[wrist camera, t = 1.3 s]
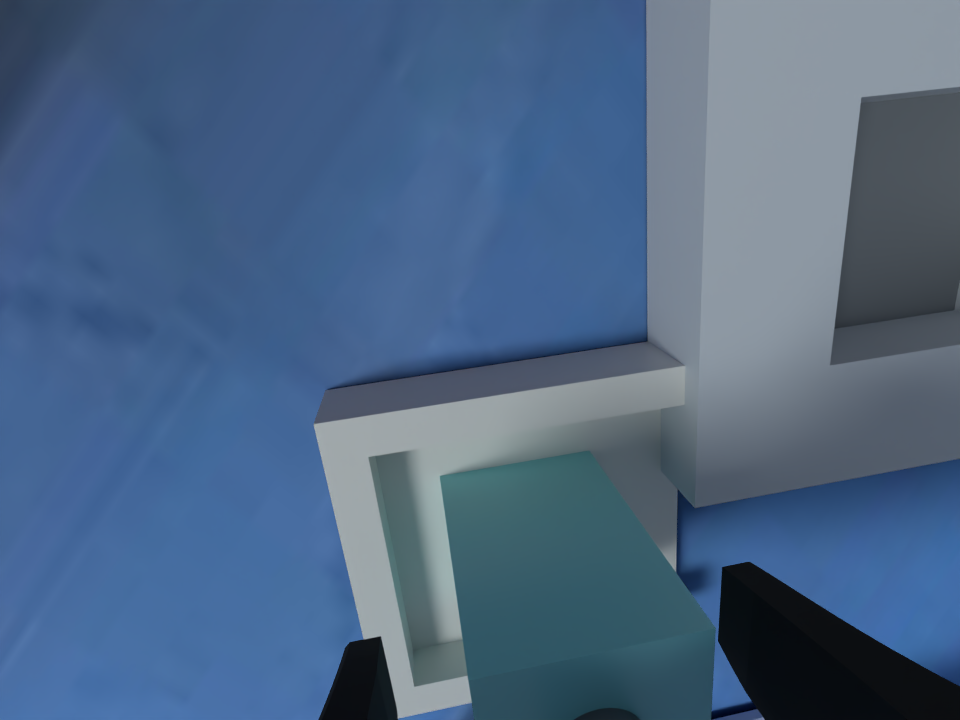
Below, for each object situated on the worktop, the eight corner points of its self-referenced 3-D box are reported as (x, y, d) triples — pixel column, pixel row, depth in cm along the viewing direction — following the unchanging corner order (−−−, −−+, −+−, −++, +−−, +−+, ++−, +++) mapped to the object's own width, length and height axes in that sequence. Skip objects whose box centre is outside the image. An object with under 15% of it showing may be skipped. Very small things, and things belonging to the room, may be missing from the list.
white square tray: (663, 602, 17) (695, 654, 15) (384, 659, 16) (382, 721, 15) (665, 338, 14) (705, 362, 12) (325, 390, 13) (313, 424, 12)
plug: (594, 571, 15) (747, 874, 9) (458, 598, 15) (506, 938, 8) (589, 450, 14) (764, 696, 7) (439, 476, 14) (480, 760, 7)
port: (1014, 392, 17) (1119, 428, 14) (647, 456, 15) (694, 507, 13) (1127, -72, 13) (1300, -131, 10) (646, -35, 11) (713, -93, 9)
